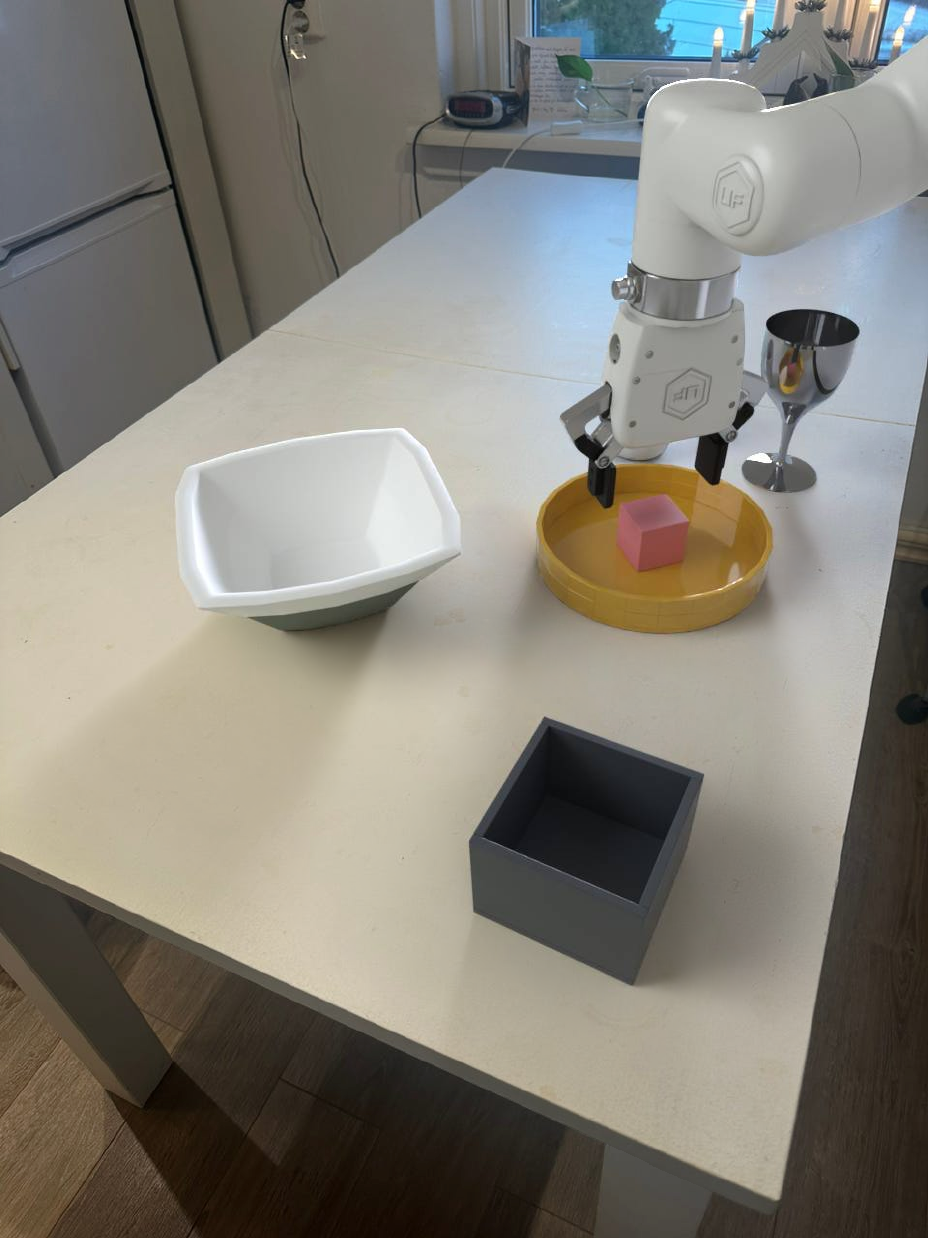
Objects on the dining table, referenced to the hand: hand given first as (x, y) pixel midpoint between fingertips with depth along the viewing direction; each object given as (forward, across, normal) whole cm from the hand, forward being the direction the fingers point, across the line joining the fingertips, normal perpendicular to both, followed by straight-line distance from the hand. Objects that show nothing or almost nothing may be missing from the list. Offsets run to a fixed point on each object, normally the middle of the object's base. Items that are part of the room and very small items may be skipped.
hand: (654, 487), depth 73 cm
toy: (+7, 0, 0) cm, 7 cm away
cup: (+8, +8, +18) cm, 21 cm away
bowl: (+8, -28, +6) cm, 29 cm away
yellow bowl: (+7, 0, 0) cm, 7 cm away
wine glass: (+7, +18, +8) cm, 21 cm away
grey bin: (+7, -18, -28) cm, 34 cm away
